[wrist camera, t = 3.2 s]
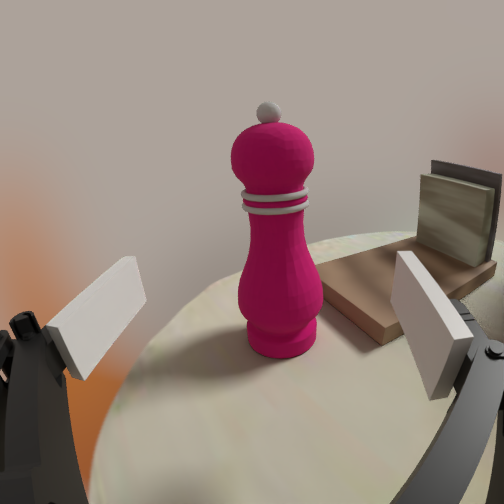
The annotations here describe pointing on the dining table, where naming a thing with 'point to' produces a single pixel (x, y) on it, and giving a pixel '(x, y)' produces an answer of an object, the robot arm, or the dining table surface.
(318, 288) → the pepper mill
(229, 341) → the dining table surface
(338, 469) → the dining table surface
